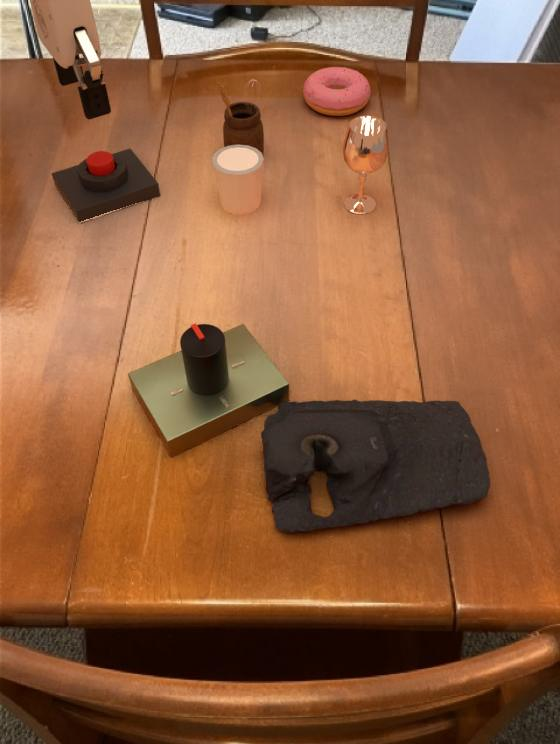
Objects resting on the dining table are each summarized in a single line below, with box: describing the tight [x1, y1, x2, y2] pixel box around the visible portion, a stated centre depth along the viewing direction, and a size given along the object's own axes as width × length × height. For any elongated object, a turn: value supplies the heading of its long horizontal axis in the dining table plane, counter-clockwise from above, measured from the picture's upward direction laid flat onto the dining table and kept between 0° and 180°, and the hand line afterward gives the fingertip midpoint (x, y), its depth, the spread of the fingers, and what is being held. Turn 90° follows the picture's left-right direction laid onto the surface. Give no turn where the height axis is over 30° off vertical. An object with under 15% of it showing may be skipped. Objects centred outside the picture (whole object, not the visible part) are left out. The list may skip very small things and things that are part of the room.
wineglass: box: [342, 115, 389, 215], centre depth 90 cm, size 6×6×12 cm
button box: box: [51, 148, 161, 223], centre depth 95 cm, size 12×10×4 cm
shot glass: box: [211, 145, 265, 216], centre depth 92 cm, size 7×7×7 cm
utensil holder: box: [216, 78, 265, 156], centre depth 98 cm, size 6×6×12 cm
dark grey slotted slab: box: [260, 399, 491, 534], centre depth 66 cm, size 15×22×5 cm
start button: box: [85, 150, 115, 176], centre depth 93 cm, size 4×4×2 cm
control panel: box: [127, 323, 290, 458], centre depth 72 cm, size 14×10×3 cm
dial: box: [179, 322, 229, 395], centre depth 69 cm, size 4×4×6 cm
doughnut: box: [301, 66, 372, 117], centre depth 110 cm, size 11×11×4 cm
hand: (85, 98), depth 86 cm, fingers open, 8 cm apart
